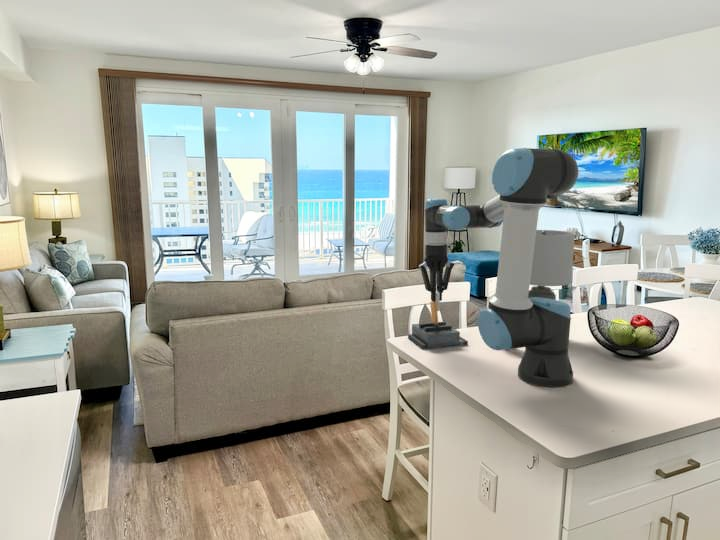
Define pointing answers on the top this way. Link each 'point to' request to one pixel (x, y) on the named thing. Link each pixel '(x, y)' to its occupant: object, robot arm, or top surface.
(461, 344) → the gray slab
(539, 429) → the top surface
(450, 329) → the box
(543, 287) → the lamp
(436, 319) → the lever
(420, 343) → the dark gray bar
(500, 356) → the top surface
